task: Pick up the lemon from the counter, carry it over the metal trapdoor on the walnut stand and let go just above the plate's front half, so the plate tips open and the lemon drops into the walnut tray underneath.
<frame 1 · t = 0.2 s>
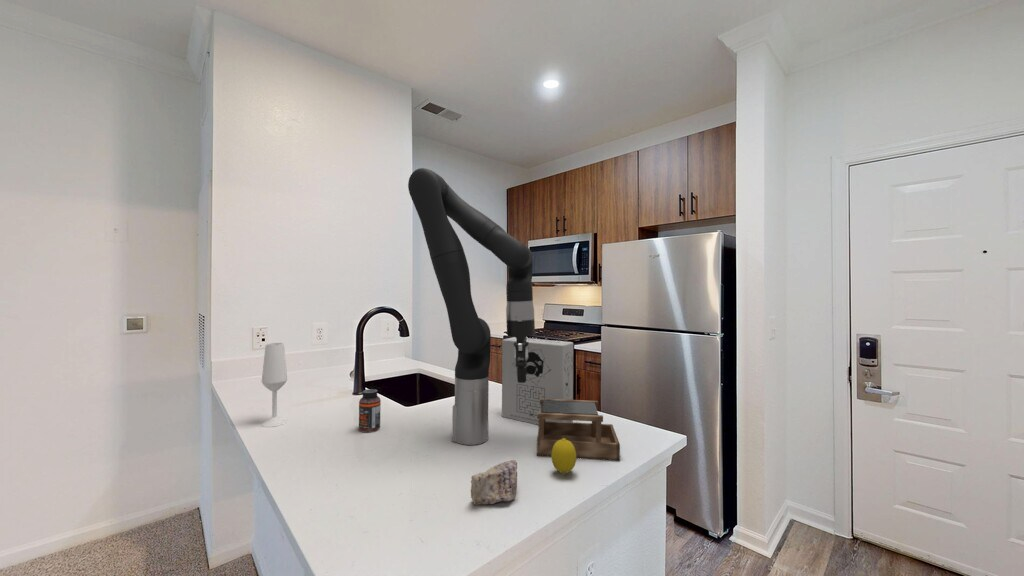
hand: (522, 378, 106), 17 cm above the counter, tool pointing down, fingers open, 8 cm apart
mineral specimen: (498, 497, 79), on the counter
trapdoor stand: (568, 446, 104), on the counter
champagne flute: (274, 423, 120), on the counter
supplement bottle: (369, 430, 115), on the counter
lemon: (563, 474, 89), on the counter
cereal box: (536, 420, 124), on the counter
trapdoor: (569, 410, 104), point 10 cm above the counter, hinge at 0.0°
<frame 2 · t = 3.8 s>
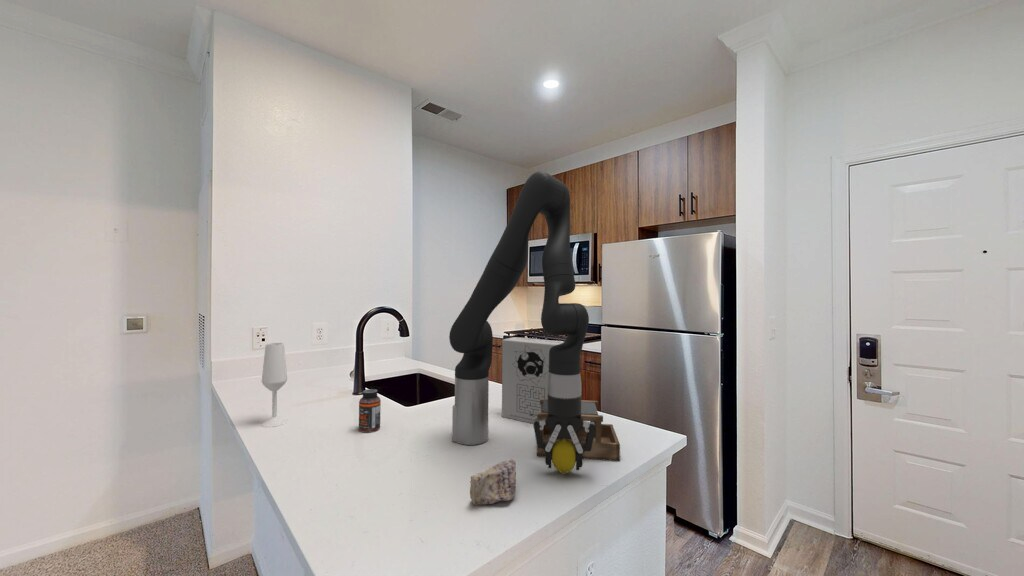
hand: (563, 467, 89), 2 cm above the counter, tool pointing down, fingers closed on lemon, 5 cm apart
lemon: (563, 474, 89), on the counter, touching gripper
everything else where it was.
when the fingers open (15 cm above the counter, at t = 8.5 s): lemon drops 5 cm, resting on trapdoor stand.
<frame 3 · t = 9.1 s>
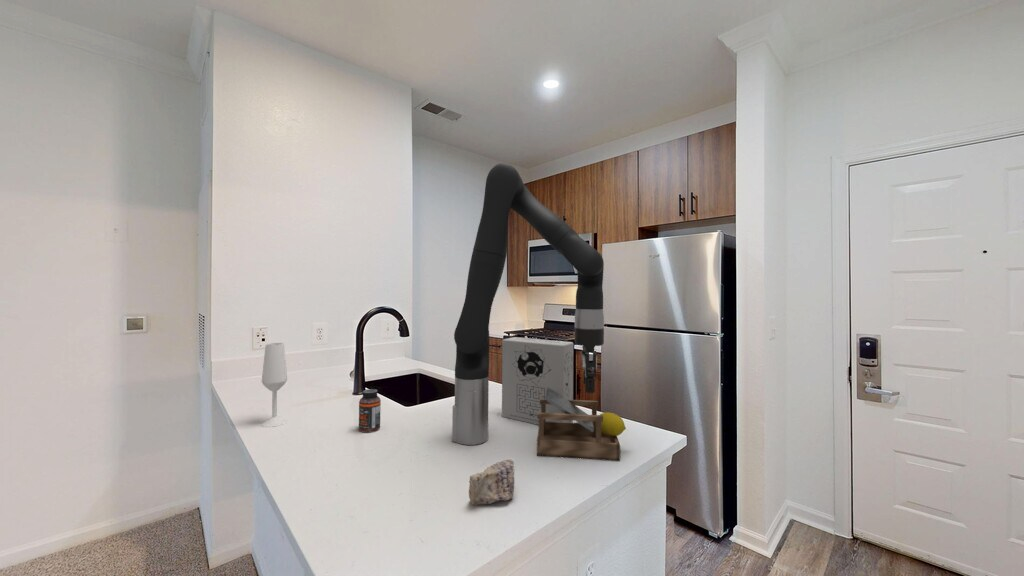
hand: (588, 388, 103), 16 cm above the counter, tool pointing down, fingers open, 8 cm apart
lemon: (593, 419, 102), point 8 cm above the counter, touching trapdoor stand
trapdoor: (568, 410, 104), point 10 cm above the counter, hinge at -33.2°
everything else where it was.
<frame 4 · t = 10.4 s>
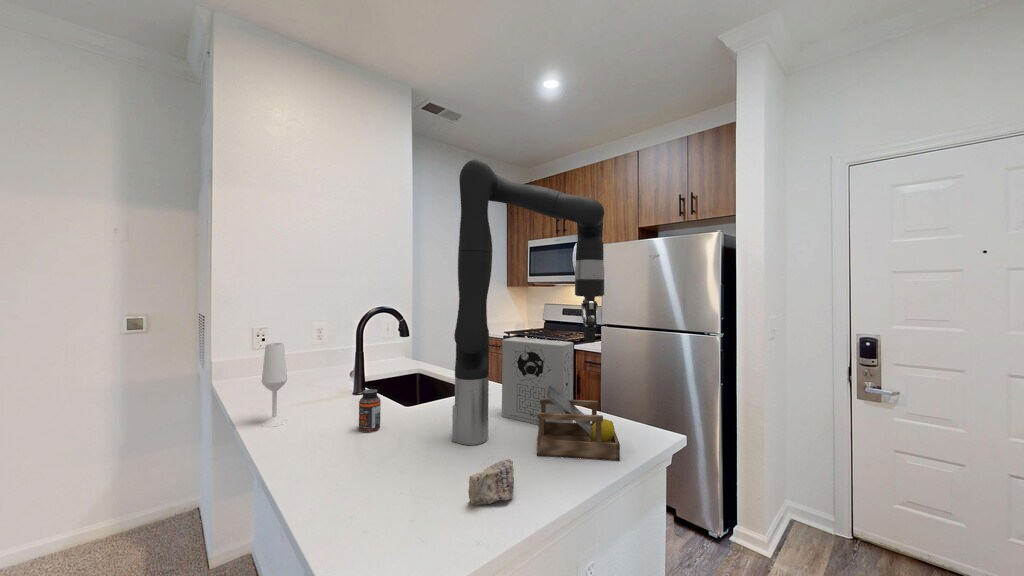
hand: (589, 340, 103), 28 cm above the counter, tool pointing down, fingers open, 8 cm apart
lemon: (590, 443, 102), point 1 cm above the counter, touching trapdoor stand
trapdoor: (568, 409, 104), point 10 cm above the counter, hinge at -39.3°
everything else where it was.
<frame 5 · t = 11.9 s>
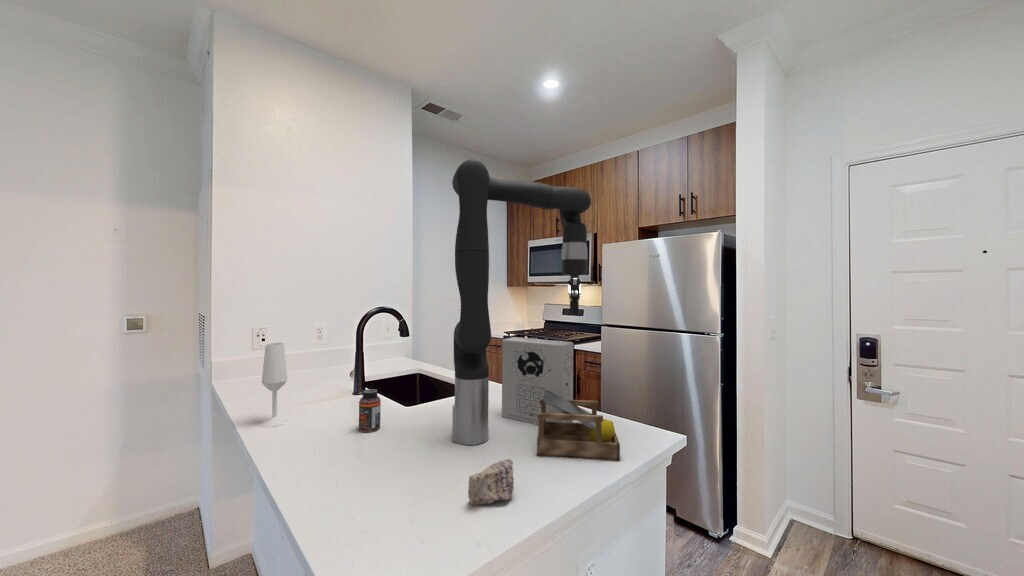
hand: (574, 313, 117), 34 cm above the counter, tool pointing down, fingers open, 8 cm apart
trapdoor: (568, 410, 104), point 10 cm above the counter, hinge at -27.0°
everything else where it was.
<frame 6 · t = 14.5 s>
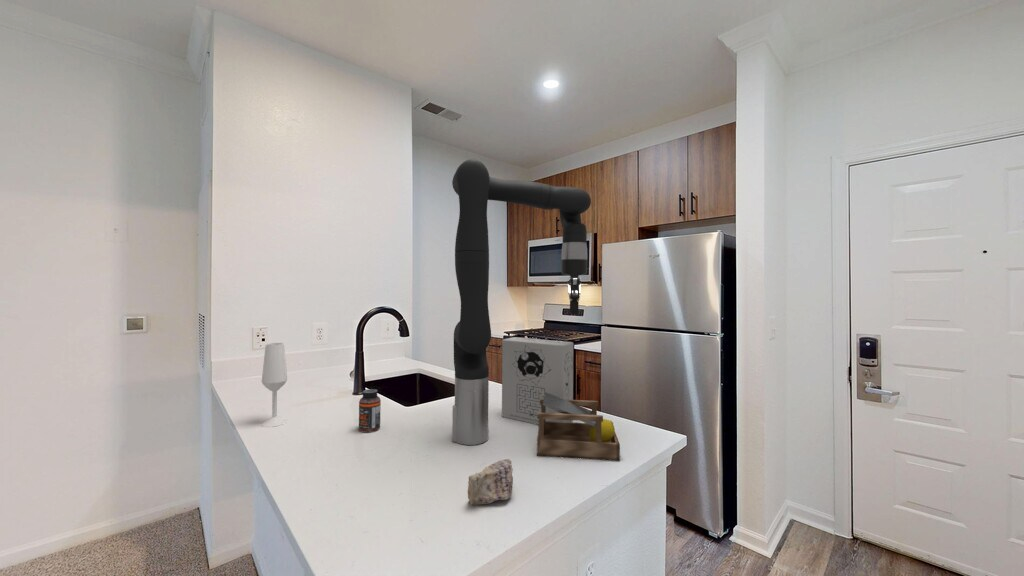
hand: (573, 313, 117), 34 cm above the counter, tool pointing down, fingers open, 8 cm apart
trapdoor: (568, 410, 104), point 10 cm above the counter, hinge at -20.4°
everything else where it was.
at the end: lemon point 1.4 cm above the counter; lemon inside the target area on the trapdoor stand (3.6 cm from its centre), point 1.4 cm above the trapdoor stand's base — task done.
